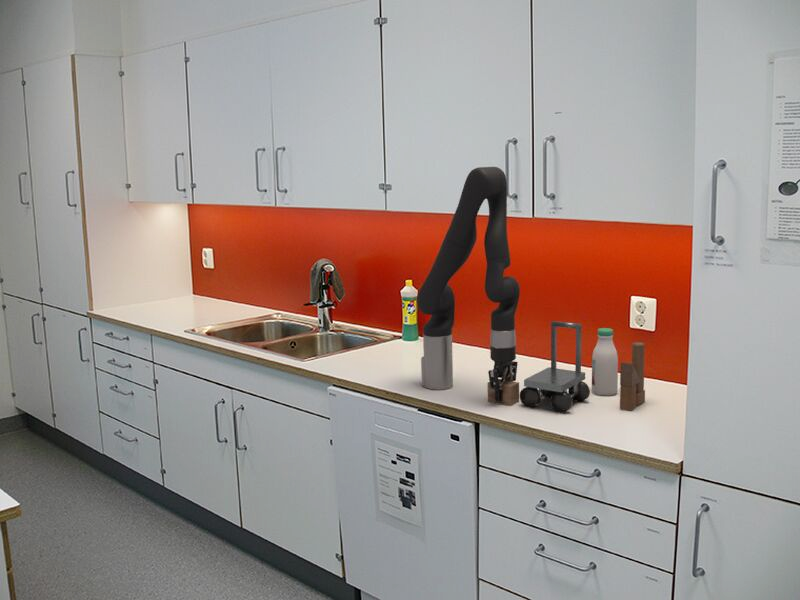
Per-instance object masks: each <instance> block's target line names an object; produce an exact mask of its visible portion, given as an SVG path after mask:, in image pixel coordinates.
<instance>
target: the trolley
mask: <svg viewBox="0 0 800 600" xmlns="http://www.w3.org/2000/svg"><path fill="white" fill-rule="evenodd" d="M582 326H583V325H582V323H576V322H566V321H558V320H557V321H556V320H552V321H551V322H550V329H551V330H550V335H551V336H550V367H547V368H544V369H542V370H541V371H538V372H536V373H535V374H532V375H530V376H529V377H527V378H524V379H523V387H524V388H522V389H521V391H519V401H520V402H521V404H522V405H523V406H524V407H527V408H534V407H535V406H537V405H539V404H540V403H541V400H542V396H543V397H545V398H550V406H551V408H552V409H553V410H554V411H555V412H557V413H558V414H564V413H566V412H568V411H569V410H571V408H572V407H573V401H574V402H577V403H581V402H584V401H586V400H587V399H588V398H589V397H590V394H591V390H590V387H589V385H588V384H587V383H586V382H584V380H586V372H583V371H582ZM557 328H565V329H573V330H574V329H575V370H569V369H564V368H558V367H557V348H558V347H557V344H558V342H557V336H558V335H557Z"/></svg>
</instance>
